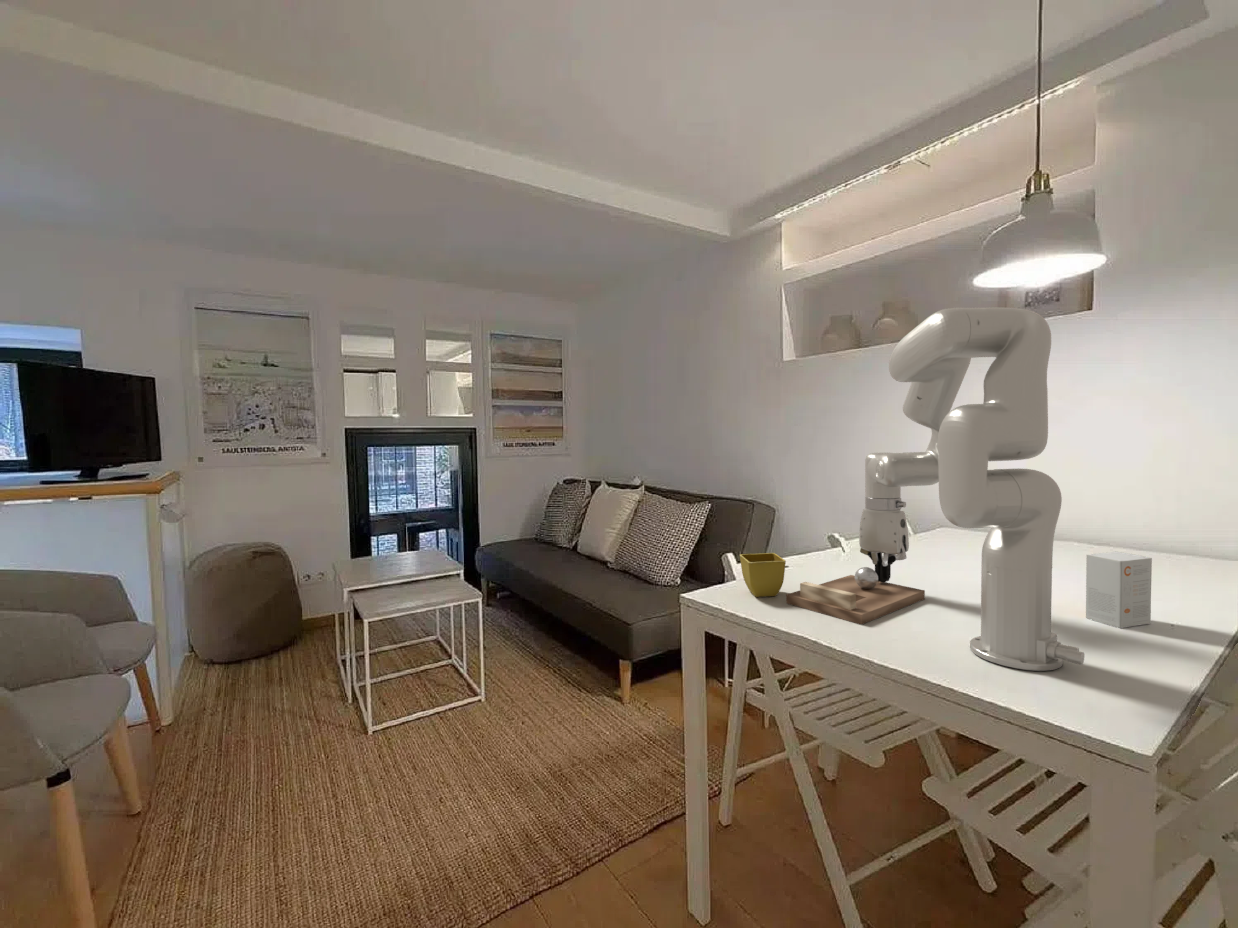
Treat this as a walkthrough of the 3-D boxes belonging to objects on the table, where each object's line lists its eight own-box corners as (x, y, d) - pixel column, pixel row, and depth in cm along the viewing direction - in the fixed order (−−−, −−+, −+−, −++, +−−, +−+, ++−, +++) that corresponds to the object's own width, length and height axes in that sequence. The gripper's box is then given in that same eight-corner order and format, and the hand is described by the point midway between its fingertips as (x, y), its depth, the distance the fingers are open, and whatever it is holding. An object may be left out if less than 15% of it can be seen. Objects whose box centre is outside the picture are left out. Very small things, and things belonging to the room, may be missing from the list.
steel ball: (882, 589, 124) (882, 567, 124) (870, 593, 121) (870, 571, 121) (862, 584, 128) (862, 563, 128) (850, 588, 125) (850, 567, 125)
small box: (1114, 613, 110) (1115, 550, 109) (1151, 624, 103) (1153, 557, 103) (1084, 618, 108) (1085, 553, 107) (1120, 628, 102) (1122, 560, 101)
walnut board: (924, 598, 122) (924, 577, 122) (861, 624, 107) (861, 599, 107) (850, 582, 137) (850, 563, 137) (786, 603, 122) (786, 581, 121)
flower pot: (749, 600, 125) (748, 562, 124) (739, 589, 133) (739, 553, 133) (786, 599, 125) (786, 560, 124) (774, 588, 134) (774, 552, 133)
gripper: (923, 506, 124) (922, 584, 125) (861, 500, 136) (861, 572, 137) (906, 509, 119) (906, 590, 120) (844, 503, 131) (844, 577, 132)
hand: (882, 580), depth 129 cm, fingers closed
